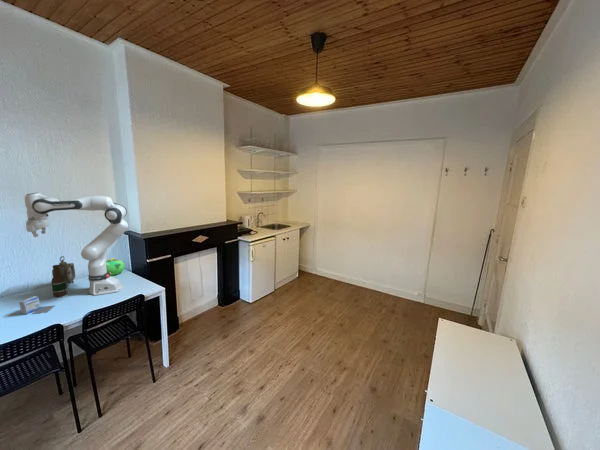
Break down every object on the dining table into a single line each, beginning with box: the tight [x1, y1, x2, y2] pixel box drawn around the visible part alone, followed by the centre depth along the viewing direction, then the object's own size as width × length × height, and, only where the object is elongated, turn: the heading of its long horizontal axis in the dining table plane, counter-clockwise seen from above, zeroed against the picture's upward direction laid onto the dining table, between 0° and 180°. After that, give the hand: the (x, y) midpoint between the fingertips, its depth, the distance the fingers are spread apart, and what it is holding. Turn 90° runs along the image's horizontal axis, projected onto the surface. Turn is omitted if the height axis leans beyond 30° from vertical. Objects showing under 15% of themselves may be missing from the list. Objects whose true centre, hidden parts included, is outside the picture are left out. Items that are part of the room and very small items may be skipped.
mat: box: [31, 305, 56, 315], centre depth 171 cm, size 8×9×1 cm
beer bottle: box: [50, 264, 68, 299], centre depth 188 cm, size 8×8×24 cm
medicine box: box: [18, 295, 42, 315], centre depth 168 cm, size 8×4×9 cm, turn 168°
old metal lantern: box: [51, 255, 76, 289], centre depth 203 cm, size 14×9×25 cm, turn 23°
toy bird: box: [106, 257, 126, 276], centre depth 230 cm, size 18×17×15 cm
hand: (39, 235), depth 181 cm, fingers open, 8 cm apart
